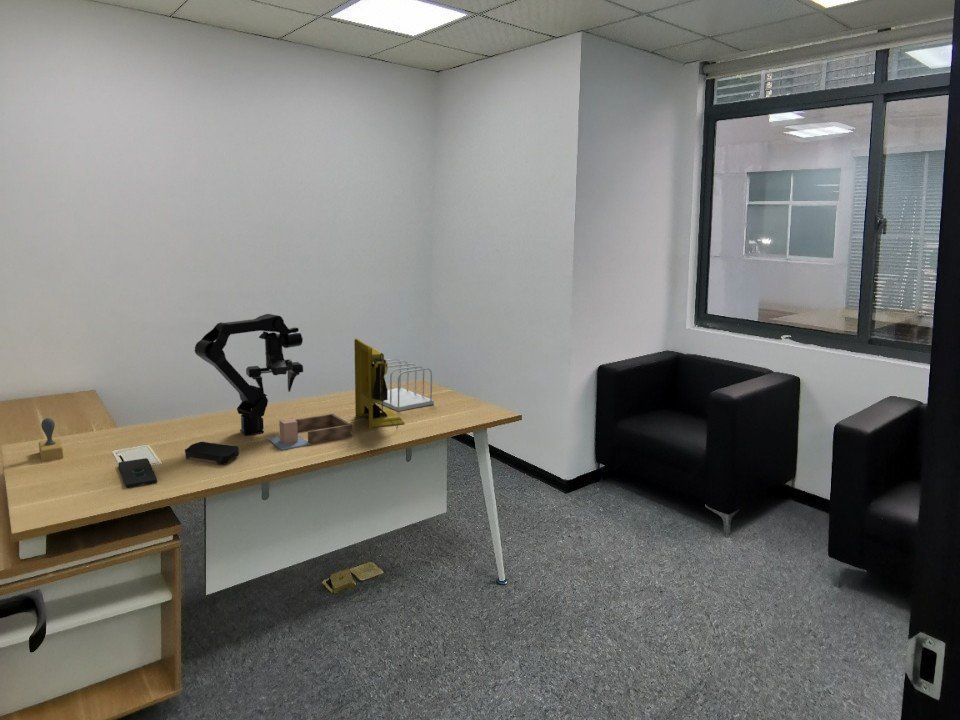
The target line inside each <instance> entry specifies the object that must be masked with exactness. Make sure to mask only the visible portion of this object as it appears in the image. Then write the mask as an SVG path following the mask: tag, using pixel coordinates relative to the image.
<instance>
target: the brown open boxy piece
mask: <svg viewBox="0 0 960 720" xmlns="http://www.w3.org/2000/svg"><path fill="white" fill-rule="evenodd" d="M294 420H296V421H297V427H298V431H299V432H301V431H305V430H308V431H307V441H308V442H309V443H310V444H315V442H316V443H320V442H321V441H322V442H326V441H331V440H337V439H344V438H349V436H350V437H353V425H352V423H349V422H348V421H346V420H344V419H343V418H341V417H340V416H338V415H336V414H334V413H328V414H324V415H323V414H322V415H321V414H320V415H316V416H315V415H314V416H309V417H303V418H296V419H294ZM329 426H331V427H329ZM324 427H326V428H324ZM317 428H321V429H317ZM313 429H315V430H313ZM322 442H321V443H322Z"/></svg>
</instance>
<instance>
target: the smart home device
mask: <svg viewBox="0 0 960 720" xmlns="http://www.w3.org/2000/svg"><path fill="white" fill-rule="evenodd" d="M118 470H119V472H120V475H121V477H122V481H123V484H124V487H125V488H126V489H132V488H137V487H143V486H149V485H154V484H157V483H158V477H157V475H156V473H155V471H154V469H153V467H152V464H151V462H150V460H149V459H148V458H146V457H145V458H138V459H132V460H126V461H125V460H124V461H119V462H118Z"/></svg>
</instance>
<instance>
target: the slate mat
mask: <svg viewBox="0 0 960 720" xmlns="http://www.w3.org/2000/svg"><path fill="white" fill-rule="evenodd" d="M267 440H268V441H269V442H271V444H273V445H274V446H275V447H277V448H278V449H279V450H280V451H284V450H290V449H297V448H301V446H302V447H307V445H308V446H311V445H312V443H309V442H308V440H307V439H305V438H304V437H302V436H301V435H299V434H298V442H293V443H288V444H284V443H283V442H282V441H280V435H279V436H273V437H267Z"/></svg>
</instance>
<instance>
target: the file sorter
mask: <svg viewBox="0 0 960 720" xmlns="http://www.w3.org/2000/svg"><path fill="white" fill-rule="evenodd" d="M385 360H386V362H387V366H388V368H394V369H393V370H392V371H390V375H389V388H388V389H387V390H388V400H384V402H383V406H385V407H387V408H389V409H392V410H394V411H397V412H401V411H406V410H411V409H416V408H417V409H418V408H422V407H426V406H431V405H434V404H435V401H434V399H433V397H432V396H433V393H432V392H433V372H432V369H431V368H429V367H427V368H426V367H425V368H424V367H423V366H422V365H416V364H415V363H410V362H409V363H408V362H407V361H406V360H400V359H398V358H390V359H385ZM390 361H391V362H390ZM402 363H403V364H402ZM391 364H393V365H391ZM403 366H404V367H403ZM396 367H398V368H396ZM418 368H419V369H418ZM412 369H413V370H412ZM425 370H426V371H427V370H428V371H429V373H430V377H429V378H430V381H429V382H430V389H429V390H430V391H429V393H430V394H429V396H430V397H427V396H425V395H424V394H425ZM396 371H399V374H398V377H397V387H395V388H392V383H393V381H392V377H393V373H394V372H396ZM420 371H422V384H421V385H422V388H421V391H422V392H421V393H422V395H421V394H419V393H417V377H418V376H417V373H418V372H420ZM412 372H414V392H413V391H411V390H409V373H412ZM403 374H406V388H403V387H402V375H403ZM379 404H380V405H382V402H380V403H379Z"/></svg>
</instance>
